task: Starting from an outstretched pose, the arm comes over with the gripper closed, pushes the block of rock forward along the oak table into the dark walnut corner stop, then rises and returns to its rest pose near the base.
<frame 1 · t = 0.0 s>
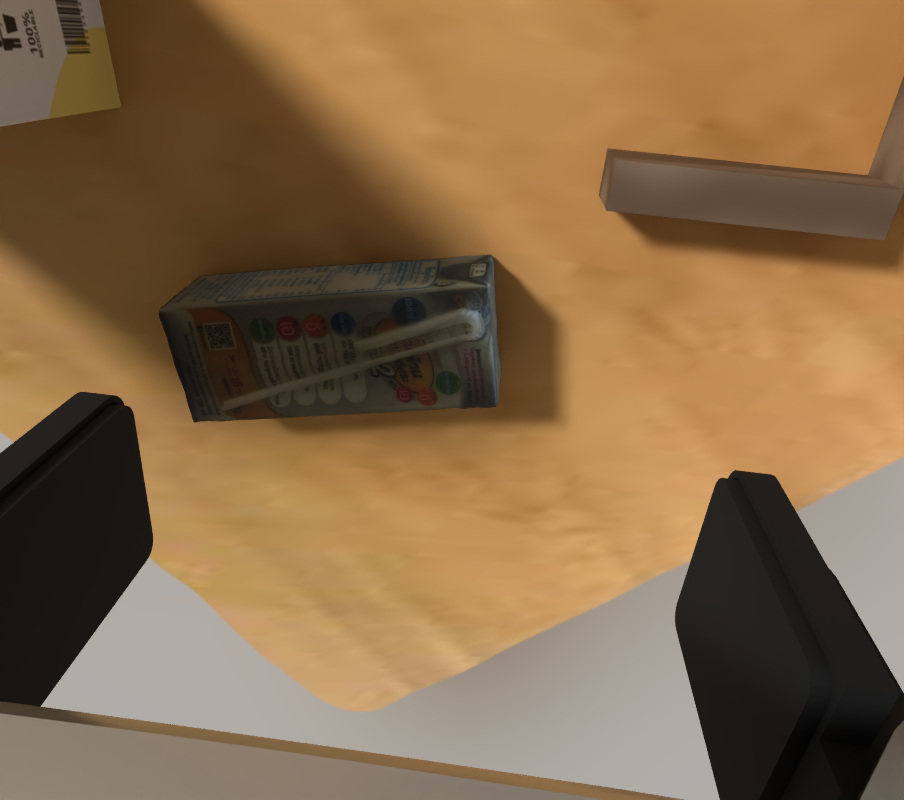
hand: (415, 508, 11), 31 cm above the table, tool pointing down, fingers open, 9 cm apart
beverage carton: (353, 319, 44), on the table
corner stop: (730, 185, 38), on the table
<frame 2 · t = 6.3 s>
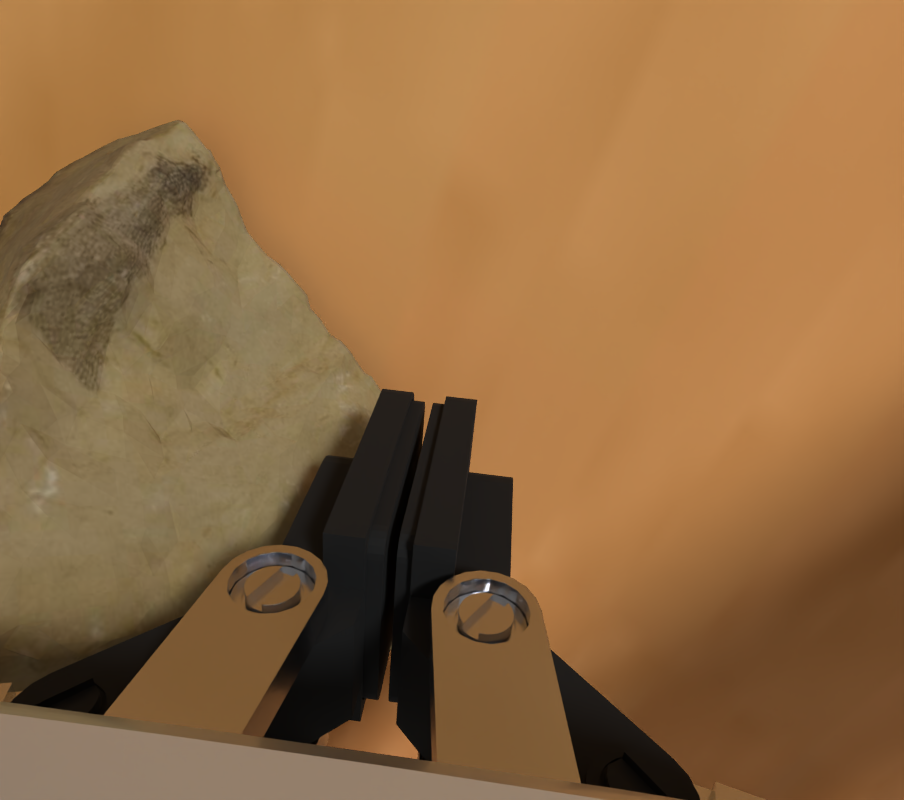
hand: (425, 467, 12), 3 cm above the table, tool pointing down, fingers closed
rock: (291, 374, 15), on the table, touching gripper
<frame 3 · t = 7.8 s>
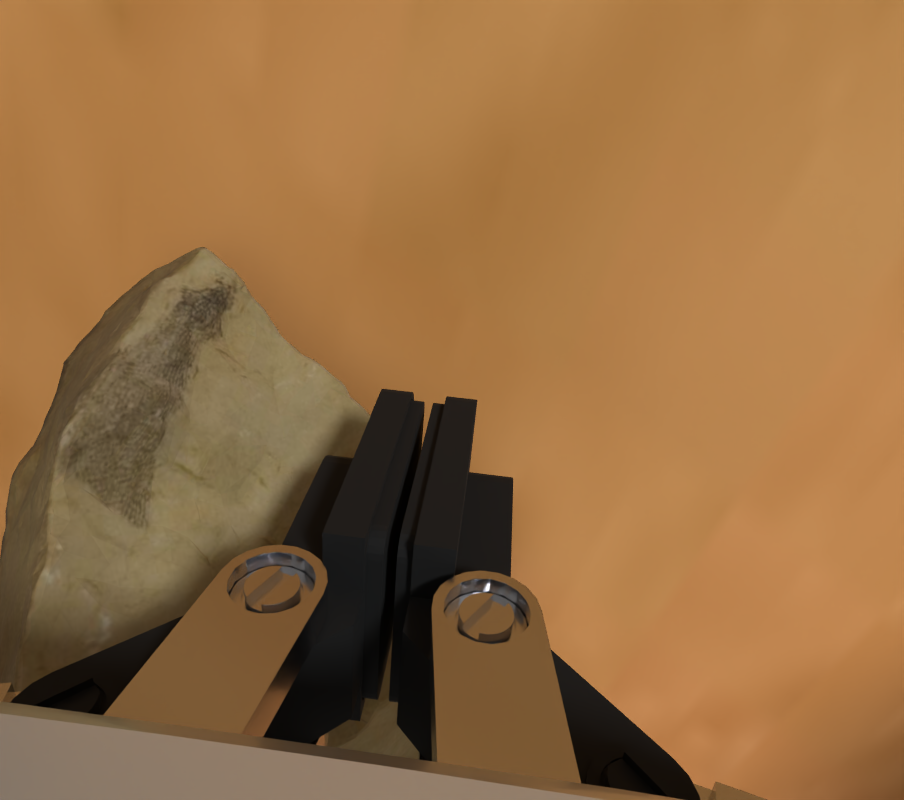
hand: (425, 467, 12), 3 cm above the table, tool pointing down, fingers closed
rock: (347, 454, 15), on the table
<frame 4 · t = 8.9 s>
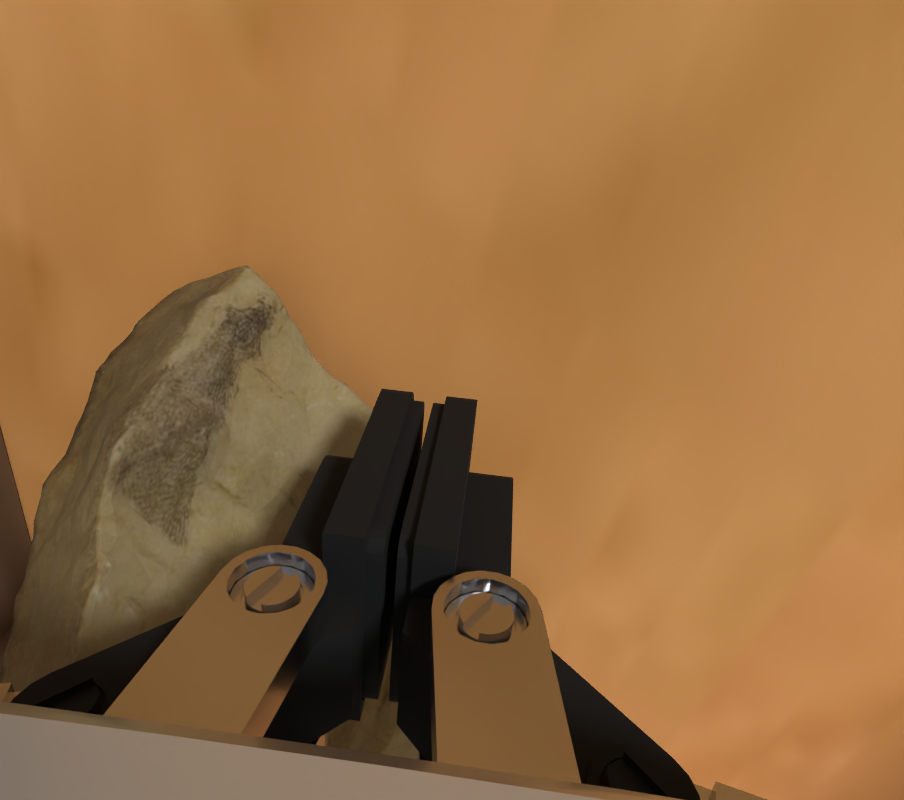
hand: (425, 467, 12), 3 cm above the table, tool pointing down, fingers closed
rock: (362, 475, 15), on the table
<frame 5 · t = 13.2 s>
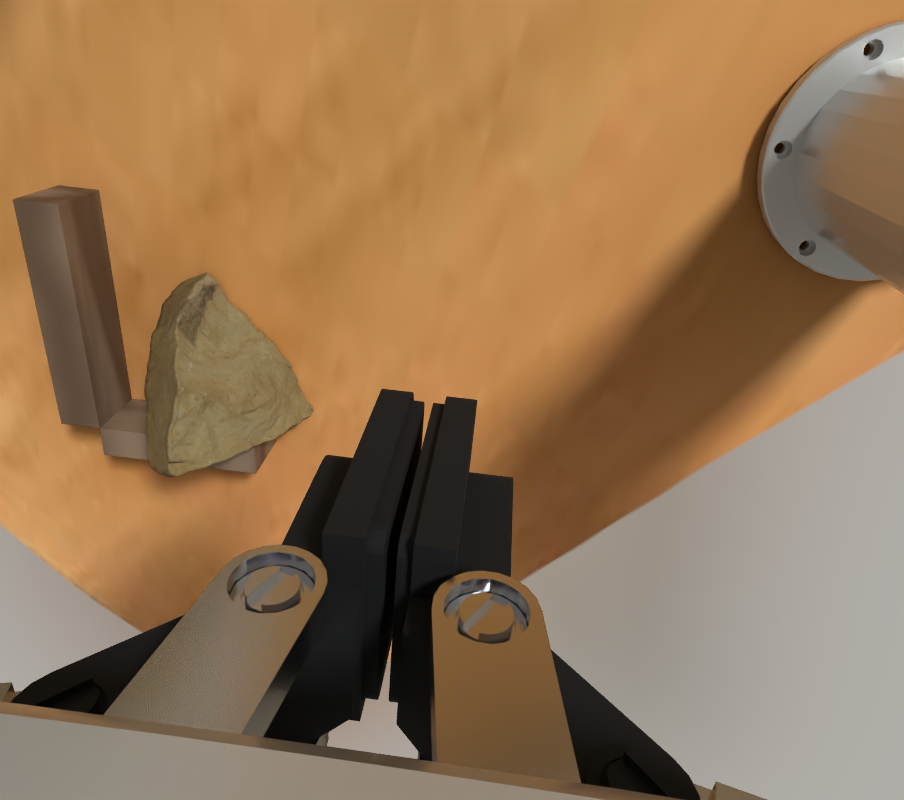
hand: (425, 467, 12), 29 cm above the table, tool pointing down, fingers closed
rock: (247, 345, 44), on the table
corner stop: (97, 300, 43), on the table
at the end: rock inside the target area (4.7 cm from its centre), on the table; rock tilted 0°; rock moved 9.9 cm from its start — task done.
